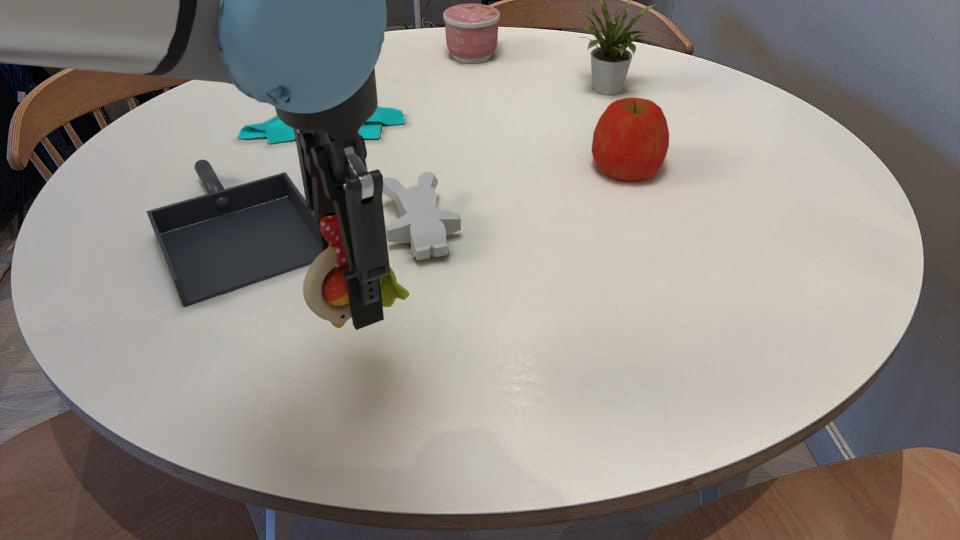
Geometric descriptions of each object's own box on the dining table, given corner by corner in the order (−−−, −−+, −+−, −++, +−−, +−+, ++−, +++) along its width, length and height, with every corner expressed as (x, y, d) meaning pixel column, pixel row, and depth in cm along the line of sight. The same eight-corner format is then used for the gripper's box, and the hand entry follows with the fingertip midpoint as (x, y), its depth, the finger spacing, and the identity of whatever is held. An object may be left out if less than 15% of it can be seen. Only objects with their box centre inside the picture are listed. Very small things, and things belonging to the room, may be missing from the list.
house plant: (545, 94, 121) (552, -1, 110) (577, 65, 130) (585, -26, 120) (624, 113, 116) (638, 14, 105) (651, 81, 125) (666, -12, 114)
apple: (643, 144, 108) (653, 79, 101) (677, 180, 100) (692, 113, 93) (578, 154, 105) (585, 89, 99) (608, 193, 97) (618, 124, 91)
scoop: (332, 256, 87) (327, 230, 84) (183, 307, 80) (173, 280, 77) (266, 160, 104) (260, 136, 102) (139, 195, 97) (130, 170, 95)
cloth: (406, 100, 119) (405, 88, 118) (404, 140, 109) (403, 127, 107) (252, 104, 118) (249, 92, 117) (235, 145, 108) (231, 132, 106)
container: (504, 63, 131) (505, 21, 126) (449, 68, 129) (447, 25, 124) (493, 42, 139) (493, 1, 134) (440, 46, 137) (439, 5, 132)
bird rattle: (364, 358, 63) (429, 284, 65) (305, 295, 54) (383, 212, 56) (321, 325, 66) (385, 256, 69) (259, 261, 57) (335, 184, 60)
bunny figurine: (392, 245, 82) (371, 167, 92) (394, 275, 85) (374, 197, 95) (470, 232, 84) (441, 157, 94) (469, 262, 87) (441, 187, 97)
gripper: (426, 100, 45) (437, 349, 60) (324, 13, 58) (354, 238, 72) (316, 127, 42) (356, 383, 57) (233, 30, 55) (283, 261, 69)
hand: (355, 302), depth 65 cm, fingers closed on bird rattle, 5 cm apart
